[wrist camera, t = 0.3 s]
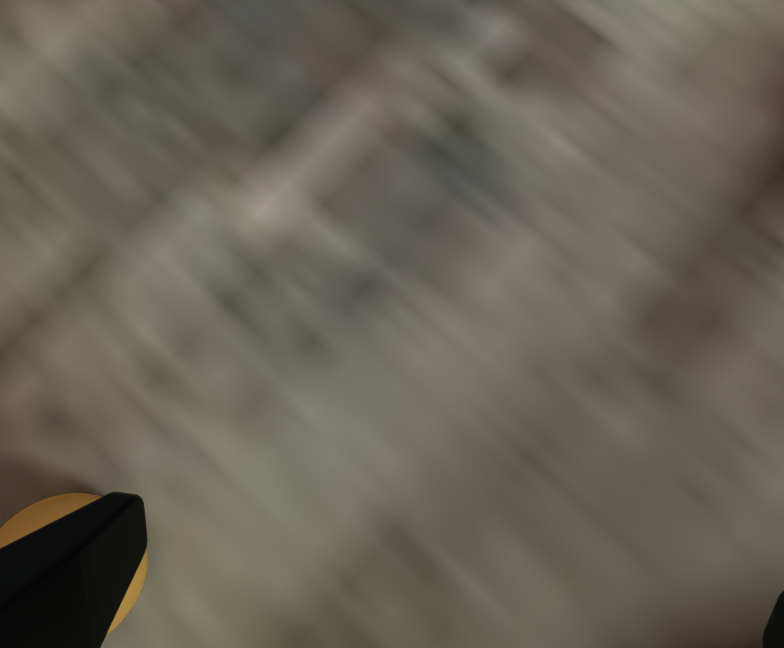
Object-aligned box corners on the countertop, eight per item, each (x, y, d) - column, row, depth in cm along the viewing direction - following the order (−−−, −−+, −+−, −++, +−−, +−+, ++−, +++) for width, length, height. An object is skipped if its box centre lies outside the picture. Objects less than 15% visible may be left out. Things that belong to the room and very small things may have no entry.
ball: (177, 608, 22) (114, 669, 17) (43, 633, 22) (-60, 703, 17) (160, 472, 22) (94, 493, 17) (29, 496, 22) (-74, 524, 17)
